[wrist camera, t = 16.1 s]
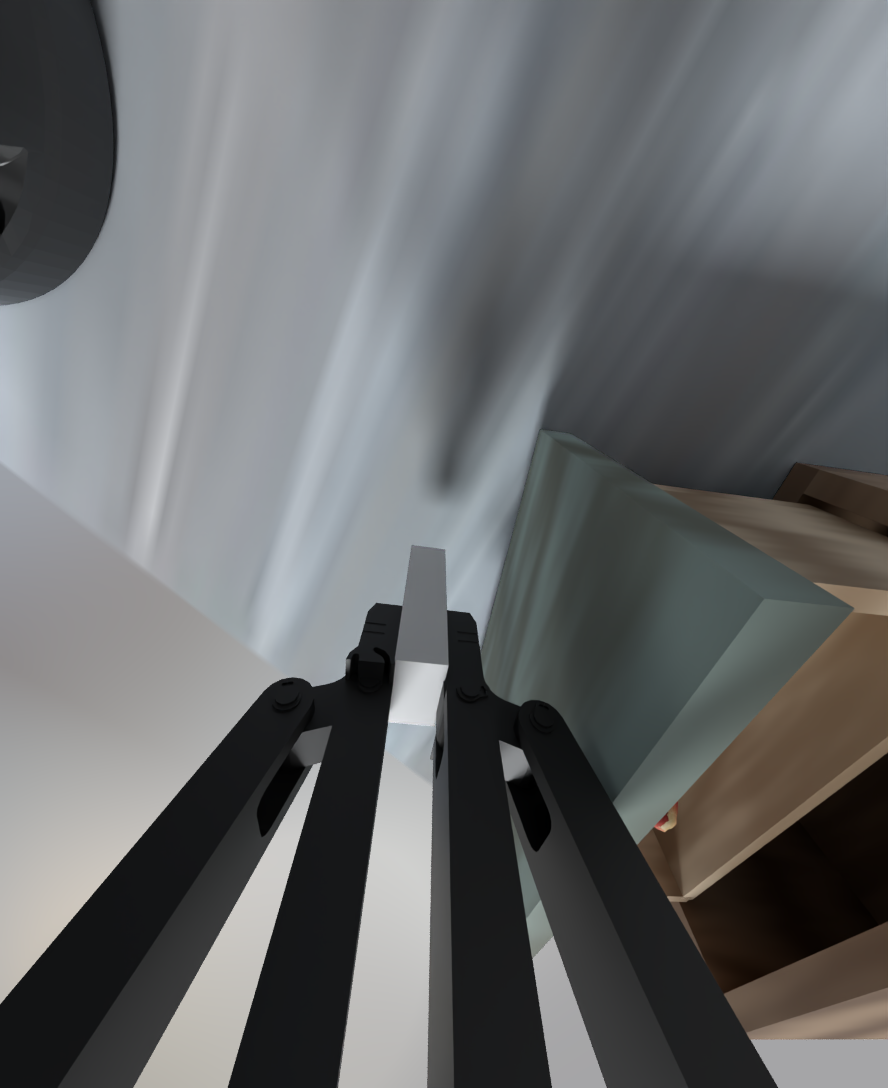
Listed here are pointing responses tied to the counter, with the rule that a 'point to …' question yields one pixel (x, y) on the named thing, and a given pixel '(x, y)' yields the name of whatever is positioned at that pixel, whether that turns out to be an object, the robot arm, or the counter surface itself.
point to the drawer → (691, 655)
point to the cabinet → (810, 873)
